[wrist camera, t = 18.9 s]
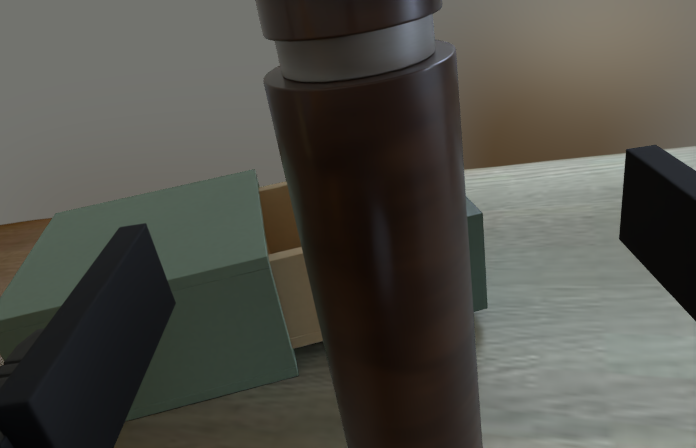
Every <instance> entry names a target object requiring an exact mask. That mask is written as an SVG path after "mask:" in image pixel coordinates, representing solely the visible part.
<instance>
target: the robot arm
mask: <svg viewBox="0 0 696 448" xmlns="http://www.w3.org/2000/svg"><path fill="white" fill-rule="evenodd" d="M619 240H620V241H621V242H622V243H623V244H624V245H625V246H626V247H627V248H628V249H629V250H630V251H631V252H632V253H633V255H634V256H635V257H636V258H637V259H638V260H639V261H640V262H641V263H642V264H643V265H644V266H645V267H646V268H647V270H648V271H649V272H650V273H651V274H652V275H653V276H654V277H655V278H656V279H657V280H658V281H659V282H660V283H661V285H662V286H663V287H664V288H665V289H666V290H667V291H668V292H669V293H670V294H671V295H672V296H673V297H674V298H675V300H676V301H677V302H678V303H679V304H680V305H681V306H682V307H683V308H684V309H685V310H686V311H687V312H688V313H689V315H690V316H691V317H692V318H693V319H694V320H695V321H696V171H695V170H694V169H692V168H690V167H689V166H687V165H686V164H684V163H683V162H681V161H680V160H678V159H677V158H675V157H674V156H672V155H671V154H669V153H668V152H666V151H665V150H663V149H661V148H660V147H658V146H657V145H651V146H645V147H638V148H632V149H627V150H626V159H625V172H624V184H623V197H622V209H621V222H620V234H619ZM175 304H176V302H175V299H174V297H173V294H172V291H171V289H170V286H169V283H168V281H167V278H166V275H165V273H164V270H163V267H162V264H161V262H160V259H159V256H158V254H157V251H156V248H155V246H154V243H153V240H152V238H151V235H150V232H149V229H148V227H147V224H146V223H143V224H137V225H130V226H123V227H119V228H118V230H117V231H116V233H115V234H114V235H113V237H112V238H111V239H110V241H109V242H108V243H107V245H106V246H105V247H104V249H103V250H102V251H101V253H100V254H99V256H98V257H97V258H96V260H95V261H94V262H93V264H92V265H91V266H90V268H89V269H88V270H87V272H86V273H85V274H84V276H83V277H82V279H81V280H80V281H79V283H78V284H77V285H76V287H75V288H74V289H73V291H72V292H71V293H70V295H69V296H68V297H67V299H66V300H65V302H64V303H63V304H62V306H61V307H60V308H59V310H58V311H57V312H56V314H55V315H54V316H53V318H52V319H51V320H50V322H49V323H48V325H47V326H46V327H45V328H44V329H37V330H36V331H34V332H33V333H32V334H31V335H29V336H28V337H27V338H26V339H24V340H23V341H22V342H21V343H19V344H18V345H17V346H16V347H15V349H14V350H13V351H12V353H11V354H10V355H9V356H8V358H7V359H6V360H5V362H4V365H1V367H0V448H114V445H115V443H116V441H117V438H118V436H119V434H120V431H121V429H122V427H123V424H124V422H125V420H126V418H127V415H128V413H129V411H130V408H131V406H132V404H133V401H134V399H135V397H136V394H137V392H138V390H139V387H140V385H141V383H142V381H143V378H144V376H145V374H146V371H147V369H148V367H149V364H150V362H151V360H152V357H153V355H154V353H155V351H156V348H157V346H158V344H159V341H160V339H161V337H162V334H163V332H164V330H165V327H166V325H167V323H168V320H169V318H170V316H171V314H172V311H173V309H174V307H175Z"/></svg>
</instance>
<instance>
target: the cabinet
mask: <svg viewBox="0 0 696 448" xmlns="http://www.w3.org/2000/svg"><path fill="white" fill-rule="evenodd" d="M143 223H146V224H147V227H148V229H149V232H150V235H151V238H152V240H153V243H154V246H155V248H156V251H157V254H158V256H159V259H160V262H161V264H162V267H163V270H164V273H165V275H166V278H167V281H168V283H169V286H170V289H171V291H172V294H173V297H174V299H175V302H176V304H175V307H174V309H173V311H172V314H171V316H170V318H169V320H168V323H167V325H166V327H165V330H164V332H163V334H162V337H161V339H160V341H159V344H158V346H157V348H156V351H155V353H154V355H153V357H152V360H151V362H150V364H149V367H148V369H147V371H146V374H145V376H144V378H143V381H142V383H141V385H140V387H139V390H138V392H137V394H136V397H135V399H134V401H133V404H132V406H131V408H130V411H129V413H128V415H127V418H126V420H125V421H128V420H132V419H136V418H140V417H144V416H147V415H151V414H155V413H159V412H162V411H166V410H170V409H174V408H178V407H181V406H185V405H189V404H193V403H197V402H200V401H204V400H208V399H212V398H216V397H219V396H223V395H227V394H231V393H235V392H238V391H242V390H246V389H250V388H253V387H257V386H261V385H265V384H269V383H272V382H276V381H280V380H284V379H288V378H291V377H295V376H298V368H297V362H296V356H295V351H294V349H292V345H291V342H290V338H289V334H288V330H287V326H286V323H285V319H284V315H283V311H282V308H281V304H280V300H279V296H278V293H277V289H276V285H275V281H274V278H273V274H272V270H271V266H270V263H269V257H268V250H267V243H266V236H265V229H264V222H263V215H262V208H261V201H260V194H259V183H258V179H257V175H256V171H255V169H253V170H249V171H244V172H240V173H235V174H231V175H226V176H222V177H218V178H213V179H208V180H204V181H199V182H195V183H190V184H186V185H181V186H177V187H172V188H168V189H163V190H159V191H155V192H150V193H145V194H141V195H136V196H132V197H127V198H123V199H119V200H114V201H110V202H105V203H100V204H96V205H92V206H87V207H82V208H78V209H73V210H69V211H64V212H60V213H56V214H55V215H54V217H53V218H52V220H51V221H50V223H49V224H48V226H47V227H46V229H45V230H44V232H43V233H42V235H41V236H40V238H39V239H38V241H37V242H36V244H35V246H34V247H33V249H32V250H31V252H30V253H29V255H28V256H27V258H26V259H25V261H24V262H23V264H22V265H21V267H20V268H19V270H18V271H17V273H16V275H15V276H14V278H13V279H12V281H11V282H10V284H9V285H8V287H7V288H6V290H5V291H4V293H3V294H2V296H1V297H0V354H1V356H2V358H3V360H4V361H5V360H6V359H7V358H8V356H9V355H10V354H11V353H12V351H13V350H14V349H15V347H16V346H17V345H18V344H19V343H21V342H22V341H23V340H24V339H26V338H27V337H28V336H29V335H31V334H32V333H33V332H34V331H36V330H37V329H44V328H45V327H46V326H47V325H48V323H49V322H50V320H51V319H52V318H53V316H54V315H55V314H56V312H57V311H58V310H59V308H60V307H61V306H62V304H63V303H64V302H65V300H66V299H67V297H68V296H69V295H70V293H71V292H72V291H73V289H74V288H75V287H76V285H77V284H78V283H79V281H80V280H81V279H82V277H83V276H84V274H85V273H86V272H87V270H88V269H89V268H90V266H91V265H92V264H93V262H94V261H95V260H96V258H97V257H98V256H99V254H100V253H101V251H102V250H103V249H104V247H105V246H106V245H107V243H108V242H109V241H110V239H111V238H112V237H113V235H114V234H115V233H116V231H117V230H118V228H119V227H123V226H130V225H137V224H143Z"/></svg>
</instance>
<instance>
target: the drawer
mask: <svg viewBox="0 0 696 448" xmlns="http://www.w3.org/2000/svg"><path fill="white" fill-rule="evenodd" d="M259 194H260V201H261V208H262V215H263V222H264V229H265V236H266V243H267V250H268V257H269V263H270V266H271V270H272V274H273V278H274V281H275V285H276V289H277V293H278V296H279V300H280V304H281V308H282V311H283V315H284V319H285V323H286V326H287V330H288V334H289V338H290V342H291V345H292V349H294V348H298V347H302V346H306V345H310V344H313V343H317V342H321V341H323V338H322V334H321V330H320V325H319V321H318V317H317V312H316V308H315V304H314V299H313V295H312V291H311V286H310V282H309V278H308V273H307V269H306V265H305V260H304V256H303V252H302V247H301V243H300V239H299V234H298V230H297V225H296V221H295V217H294V212H293V208H292V204H291V199H290V195H289V191H288V186H287V182H281V183H277V184H272V185H268V186H264V187H259ZM466 207H467V222H468V237H469V252H470V267H471V282H472V297H473V312H475V311H479V310H483V309H486V308H488V307H487V288H486V268H485V249H484V230H483V213H482V212H481V211H480V210H479V209H478V208H477V207H476V206H475V205H474V204H473V203H472V202H471V201H470V200H469V199H468V198H467V197H466Z"/></svg>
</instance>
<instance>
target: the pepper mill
mask: <svg viewBox="0 0 696 448" xmlns="http://www.w3.org/2000/svg"><path fill="white" fill-rule="evenodd" d="M255 1H256V5H257V10H258V14H259V19H260V23H261V28H262V32H263V36H264V37H265V38H266V39H268V40H273V41H275V44H276V49H277V53H278V58H279V63H280V66H278V67H276V68H274V69H273V70H271V71H270V72H268V73H267V74H266V75H265V77H264V86H265V91H266V95H267V100H268V104H269V108H270V112H271V117H272V121H273V125H274V130H275V134H276V139H277V143H278V147H279V152H280V156H281V160H282V165H283V169H284V173H285V178H286V182H287V186H288V191H289V195H290V199H291V204H292V208H293V212H294V217H295V221H296V225H297V230H298V234H299V239H300V243H301V247H302V252H303V256H304V260H305V265H306V269H307V273H308V278H309V282H310V286H311V291H312V295H313V299H314V304H315V308H316V312H317V317H318V321H319V325H320V330H321V334H322V338H323V343H324V347H325V351H326V356H327V360H328V364H329V369H330V373H331V377H332V382H333V386H334V390H335V395H336V399H337V404H338V408H339V412H340V417H341V421H342V425H343V430H344V434H345V438H346V443H347V447H348V448H483V447H482V432H481V417H480V402H479V387H478V372H477V357H476V342H475V327H474V312H473V297H472V282H471V267H470V252H469V237H468V222H467V207H466V192H465V177H464V163H463V147H462V132H461V117H460V103H459V87H458V74H457V73H458V72H457V58H456V49H455V47H454V46H453V45H452V44H450V43H448V42H444V41H441V40H435V37H434V25H433V13H435V12H437V11H438V10H440V9H441V7H442V0H255Z"/></svg>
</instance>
